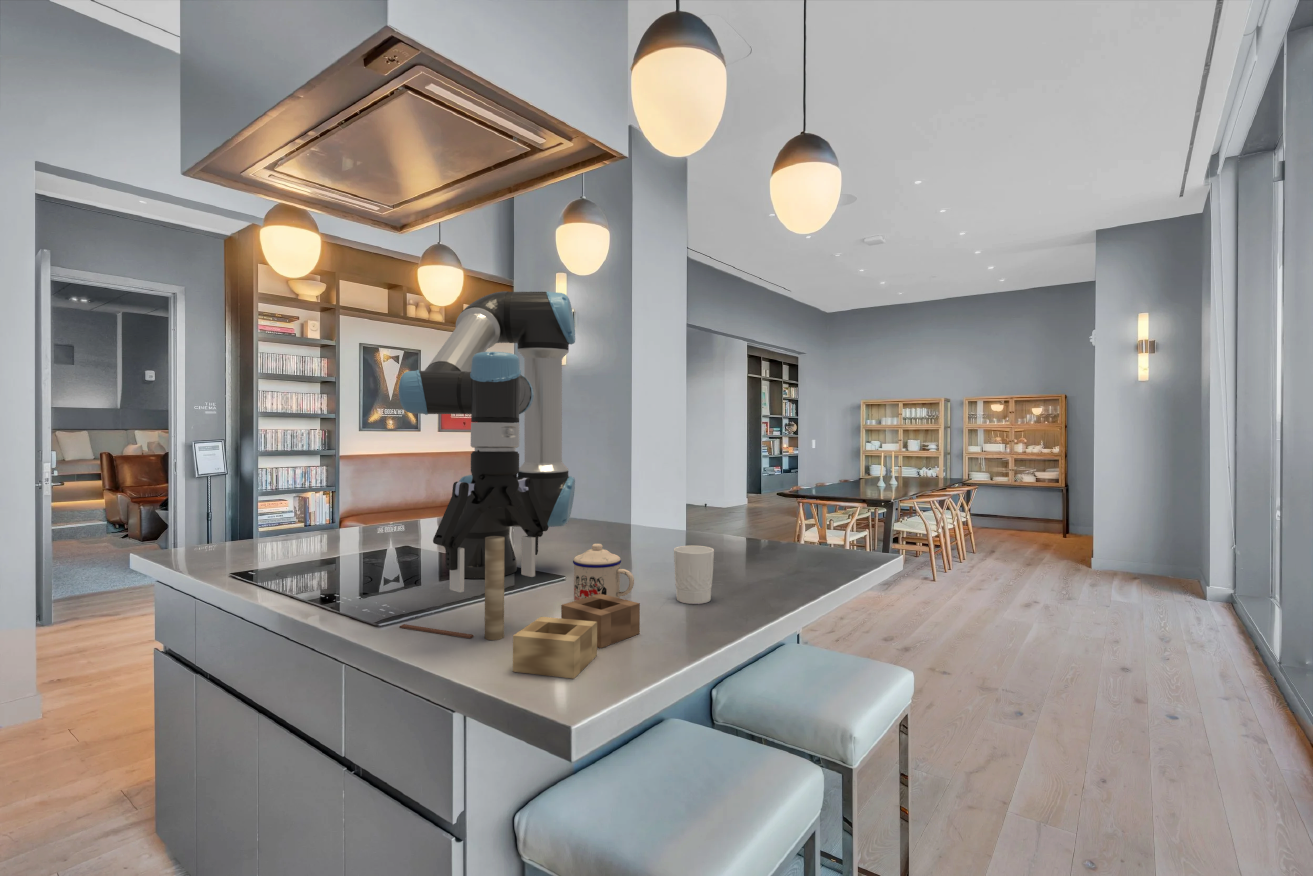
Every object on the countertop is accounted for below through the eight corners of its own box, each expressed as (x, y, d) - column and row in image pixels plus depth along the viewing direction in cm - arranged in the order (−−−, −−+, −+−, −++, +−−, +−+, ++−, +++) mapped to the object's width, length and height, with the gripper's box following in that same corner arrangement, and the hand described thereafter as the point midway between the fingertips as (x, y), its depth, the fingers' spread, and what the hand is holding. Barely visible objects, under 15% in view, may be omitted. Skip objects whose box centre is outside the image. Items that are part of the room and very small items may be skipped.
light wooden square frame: (512, 671, 86) (513, 635, 86) (540, 649, 95) (541, 616, 95) (573, 678, 84) (574, 641, 84) (596, 655, 93) (597, 621, 92)
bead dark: (561, 635, 101) (561, 604, 101) (600, 622, 108) (600, 593, 108) (600, 648, 96) (601, 615, 96) (639, 633, 103) (639, 603, 102)
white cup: (714, 605, 119) (715, 553, 119) (673, 605, 120) (674, 552, 119) (712, 594, 127) (712, 545, 127) (673, 594, 127) (673, 545, 127)
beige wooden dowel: (480, 637, 100) (481, 537, 100) (496, 632, 102) (496, 535, 102) (492, 641, 98) (492, 539, 98) (507, 636, 100) (508, 537, 100)
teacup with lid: (564, 609, 116) (564, 546, 116) (585, 597, 124) (586, 538, 124) (623, 616, 112) (624, 551, 112) (642, 603, 120) (642, 543, 120)
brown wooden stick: (399, 627, 105) (399, 625, 105) (404, 625, 106) (404, 624, 106) (469, 638, 99) (469, 636, 99) (473, 636, 100) (473, 634, 100)
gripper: (437, 451, 88) (436, 602, 88) (569, 449, 107) (568, 573, 107) (409, 450, 93) (408, 593, 93) (540, 448, 112) (539, 567, 112)
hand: (494, 582), depth 100 cm, fingers open, 13 cm apart
